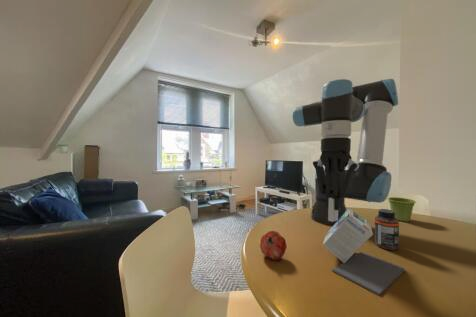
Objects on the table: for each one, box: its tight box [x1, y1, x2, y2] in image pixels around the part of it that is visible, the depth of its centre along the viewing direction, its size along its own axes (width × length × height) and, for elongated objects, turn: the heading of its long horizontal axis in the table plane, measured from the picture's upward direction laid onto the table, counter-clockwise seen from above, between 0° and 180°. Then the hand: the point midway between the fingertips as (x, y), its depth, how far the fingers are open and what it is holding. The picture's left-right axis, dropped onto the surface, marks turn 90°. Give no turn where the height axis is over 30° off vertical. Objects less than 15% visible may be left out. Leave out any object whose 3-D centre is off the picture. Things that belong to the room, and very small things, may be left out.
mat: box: [331, 251, 405, 296], centre depth 48 cm, size 10×15×1 cm, turn 124°
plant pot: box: [387, 196, 417, 223], centre depth 84 cm, size 9×9×9 cm
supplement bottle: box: [374, 208, 400, 251], centre depth 60 cm, size 6×6×11 cm
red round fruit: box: [259, 230, 287, 261], centre depth 55 cm, size 7×7×10 cm
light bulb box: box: [322, 208, 374, 263], centre depth 54 cm, size 11×7×11 cm
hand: (333, 220), depth 55 cm, fingers closed
